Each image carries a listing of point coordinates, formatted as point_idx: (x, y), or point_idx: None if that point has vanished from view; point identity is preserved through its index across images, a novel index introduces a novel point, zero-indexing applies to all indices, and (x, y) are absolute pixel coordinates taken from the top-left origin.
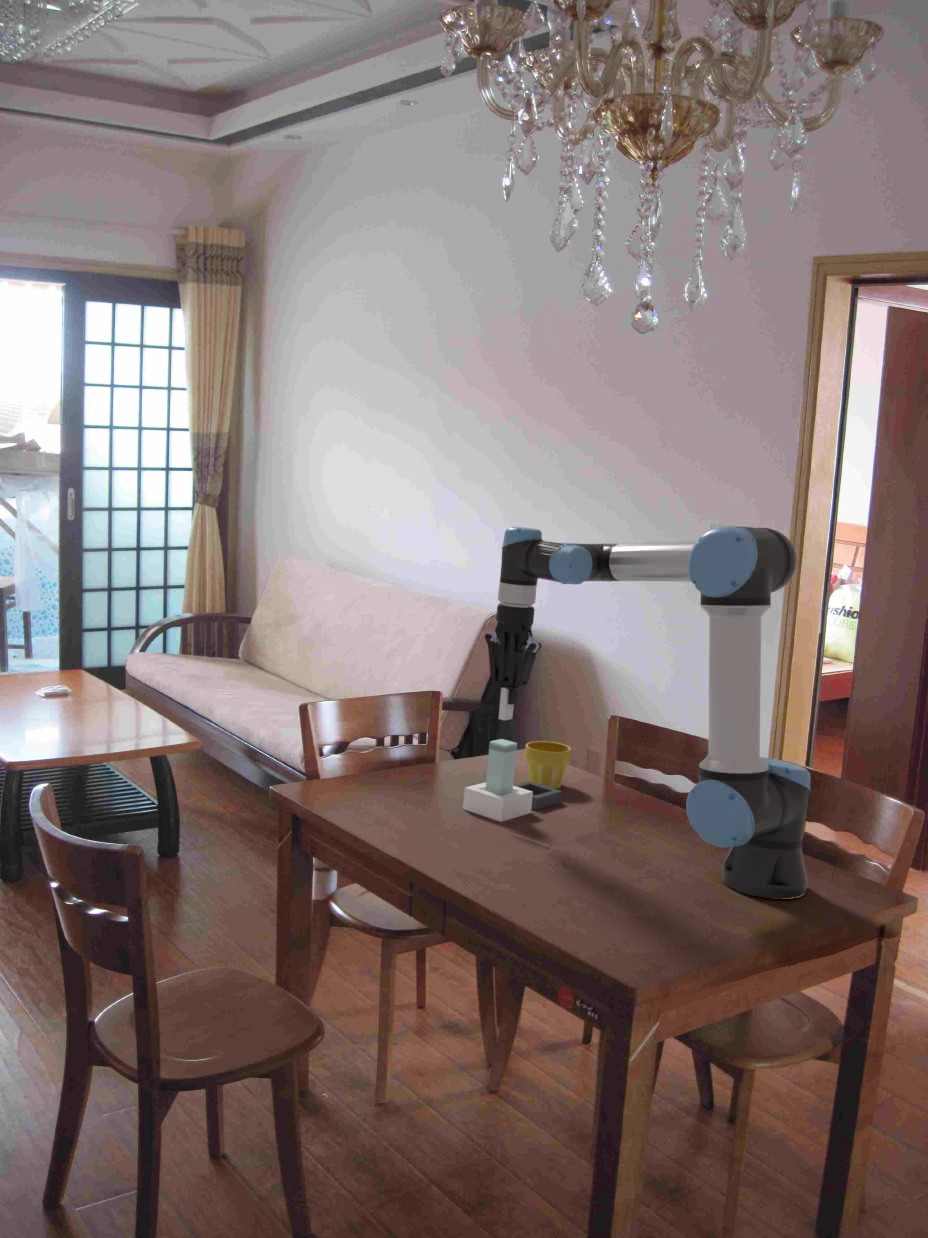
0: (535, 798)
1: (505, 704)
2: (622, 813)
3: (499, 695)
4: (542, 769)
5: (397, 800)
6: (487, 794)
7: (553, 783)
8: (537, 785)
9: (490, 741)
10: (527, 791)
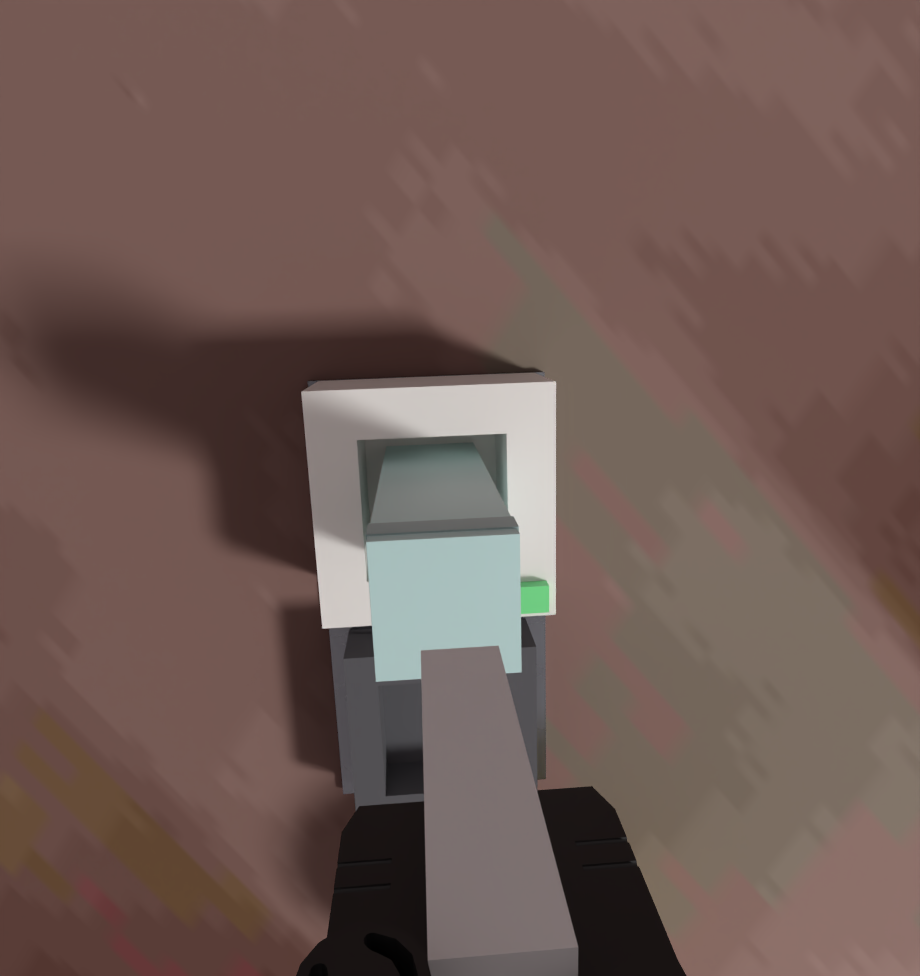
0: (353, 657)
1: (427, 757)
2: (179, 912)
3: (603, 853)
4: None
5: (821, 254)
6: (408, 392)
7: None
8: None
9: (514, 535)
10: (337, 607)
